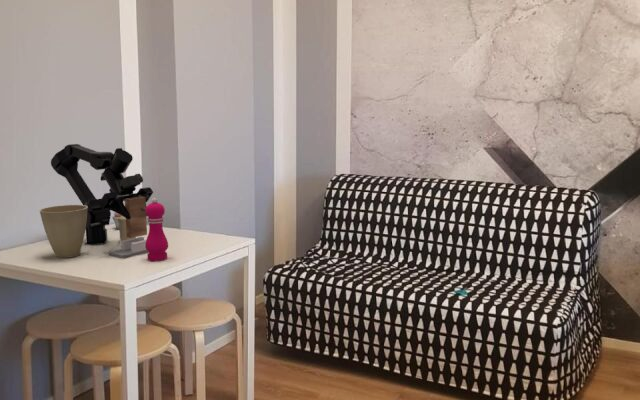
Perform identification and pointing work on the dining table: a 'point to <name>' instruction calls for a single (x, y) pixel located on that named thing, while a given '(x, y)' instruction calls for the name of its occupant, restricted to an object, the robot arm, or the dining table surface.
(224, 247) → the dining table surface
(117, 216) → the cupcake
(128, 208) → the door
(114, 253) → the board
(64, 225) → the plant pot
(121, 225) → the candle
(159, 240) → the pepper mill
